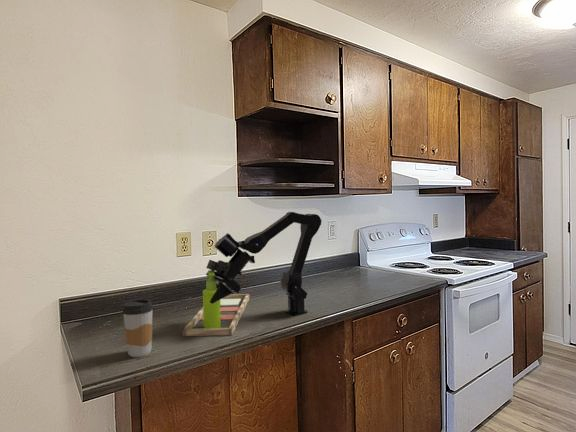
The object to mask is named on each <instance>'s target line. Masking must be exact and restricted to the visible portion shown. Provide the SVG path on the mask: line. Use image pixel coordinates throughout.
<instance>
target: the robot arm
mask: <svg viewBox="0 0 576 432" xmlns="http://www.w3.org/2000/svg"><path fill="white" fill-rule="evenodd" d="M294 223H296V224H300V236H299V239H298V242H297V246H296V249H295V252H294V256H293V260H292V261H291V262H292V263H291V265H290V268H289V270H288V271H287V272H286V271H284V272H283V273H282V276H281V277H282V278H281V280H280V283H281V284H280V286H281V289H282V290H283V291H284V292H285V293H286V296H287V298H288V299H287V310H284V311H285V313H288V314H290V315H292V316H299V315H304V314H307V313H308V312H309V311H308V310H305V299H307V296H308V292H307V291H305V290H304V289H303V288H302V285H303V276H302V275H303V274H302V273H303V270H304V266H305V262H306V259H307V256H308V253H309V250H310V247H311V244H312V240H313V238H314V236H316V234H317V233H318V231H319V229H320V227H321V225H322V219H321V217H320V215H318V214H316V213H306V214H303V213H298V212H296V211H288V212H286V213H285V215H283V216H282V217H280V218H279V219H277V220H276V221H274V222H273V223H271V224H270V225H269V226H268V227H266V228H265V229H263V230H262V231H260V232H257V233H254V234H252V235H250V236H247V237H246V238H245V239H244V240H241V241H237V240H236V239H235V238H233V236H232V235H231V234H230V233H226V234H225V235H223V236H222V237H221V238H219V239H218V240H217V242H215V244H214V248H215V249H216V250H217V251H219V253H221V254H222V255H223V256H224V257H226V258H228V257H231V258H230V259H229V260H228V261H224V260H221V259H218V261H215V260H212V259H209V260H208V262H207V265H206V267H205V268H206V269H208V270H213V271H214V279H215V280H216V288H218V289H217V291H216V292H215V294H214V295H213V297H212V298H211V300H210V303H212V304H213V303H215V302H216V301H218V300H220V299H222V298H224V297H226V296H228V295H230V294H240V292H241V291H242V285H241V284H240V283H239V282H237V281H236V278H237V277H238V276H241V275H242V274H243V273H242V271H243V270H244V268H245V267H246V266H247V265H248V263H249V264H255V263H256V260H255V255H256V254H259V253H260V252H261V251H262V250H263V249H264V248H265V247H266V246H267V244H268V243H269V241H271V240H272V239H274V237H276V236H277V235H279V234H280V233H281V232H283V231H285V230H286V229H288V227H290V226H291V225H292V224H294ZM241 249H242V250H241ZM250 253H251V254H255V255H250ZM205 275H206V276H207V280H208V279H209V274H208V271H207V272H206V274H205Z"/></svg>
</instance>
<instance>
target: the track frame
mask: <svg viewBox="0 0 576 432" xmlns="http://www.w3.org/2000/svg"><path fill="white" fill-rule="evenodd" d="M250 295H251V294H250V293H238V294H237V293H233V294H230V295H228V296H226V297H224V298H222V299H241V300H242V302H241V305H240V306H239V307H240V308H239V310H238V311H237V312H235V314H234V315H235V317H234V319H233V320H231V323H230V325H229V327H220V328H204V327H203V328H199V327H198V328H197V327H196V325H197V324H198V323H199V321H200V319H201V318H202V317H203V306H202V308H201V309H199V310H198V311H197V313H196V314H195V315H194V316H193V317H192V319H191V320H190V321H189V322H188V323H187V325H185V327H184V328H183V329H182V337H194V336H195V337H198V336H199V337H200V336H201V337H202V336H203V337H204V336H208V337H211V336H212V337H213V336H233V333H234V332H235V330H236V328H237V325H238V323H239V321H240V320H241V317H242V314H243V313H244V312H245V309H246V306H247V305H248V302H249V301H250V297H251V296H250ZM220 300H221V299H220ZM194 327H196V328H194Z"/></svg>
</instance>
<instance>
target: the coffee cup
mask: <svg viewBox="0 0 576 432" xmlns="http://www.w3.org/2000/svg"><path fill="white" fill-rule="evenodd" d="M153 310H154V304H153V303H152V301H151V299H146V298H145V299H144V298H143V299H142V298H141V299H134V300H129V301H127V302H124V304H123V307H122V312H121V313H122V314H123V323H124V334H125V335H124V336H125V342H126V348H127V354H128V356H129V357H130V358H141V357H145V356H148V355H149V354H150V353H151V351H152V345H153V343H152V342H153Z"/></svg>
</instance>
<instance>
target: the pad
mask: <svg viewBox="0 0 576 432" xmlns="http://www.w3.org/2000/svg"><path fill="white" fill-rule="evenodd" d="M241 301H242V299H221V300H220V307H225V306H226V307H232V306H233V307H238V306H239V304H240V302H241Z"/></svg>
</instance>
